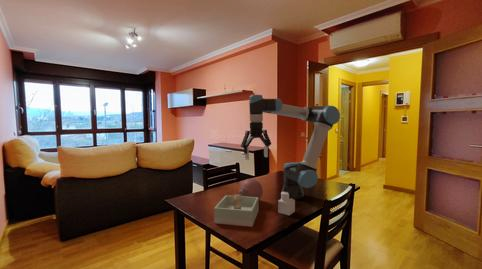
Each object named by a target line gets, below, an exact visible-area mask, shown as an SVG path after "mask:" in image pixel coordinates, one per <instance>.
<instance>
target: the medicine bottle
mask: <svg viewBox="0 0 482 269" xmlns="http://www.w3.org/2000/svg"><path fill="white" fill-rule="evenodd" d="M295 210H296V199H292V193H291V192H290V191H282V190H281V192H280V199H278V200H277V213H278V214H281V215H286V216H291V215H292V214H293V213H295V212H296V211H295Z"/></svg>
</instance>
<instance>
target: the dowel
mask: <svg viewBox="0 0 482 269" xmlns="http://www.w3.org/2000/svg"><path fill="white" fill-rule="evenodd" d="M233 196H234V209H241V195H240V194H238V193H236V194H233Z"/></svg>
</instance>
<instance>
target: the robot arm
mask: <svg viewBox="0 0 482 269" xmlns="http://www.w3.org/2000/svg"><path fill="white" fill-rule="evenodd" d="M248 102H249V103H248V104H249V130H245V132H244V133H245V134H244V136H243V139H242V142H241V144H240V147H241V148H243V153H244V159H245V160H247V161H249V159H250V154H249V153H250V150H249V146H250V144H251V143H252V141H253V140H254V139H260V141H261V142H262V143H263V144H264V146H263V156H264V158H268V157H269V152H270V150H269V148H270V146H271V145H272V142H271V139H270V137H269V135H268V130H267V129H263V128H264V125H263V124H264V122H263V120H264V116H263V114H264V113H265V114H272V115H278V116H283V117H288V118H289V117H290V118H295V119H296V118H297V119H301V120H302V121H304V122H309V123H312V124H313V125H314V128H313V130H312V134H311V137H310V140H309V141H308V145H307V147H306V150H305V151H304V155H303V158H302V161H299V162H297V161H296V162H285V163H284V164H283V186H282V188H281V192H282V191H290V192H291V193H292V199H294V200H299V199H303V198H304V197H305V195H304V194H305V193H304V190H303V188H306V189H310V188H312V187H314V186H315V185H316V184H317V182H318V180H319V176H318V173H317V171H318V168H317V163H318V161H319V157H320V155H321V153H322V149H323V148H324V145H325V144H324V143H325V142H326V139H327V135H328V133H329V131H331V130H332V129H333V127H334V125H335V124H338V123H339V121H340V119H341V114H340V111H339V109H338V107H336V106H334V105H329V104H327V105H324V106H321V105H320V106H304V107H300V106H296V105H295V106H294V105H290V104H285V103H283V101H282V100H281V99H280V98H263V94H251V95H250V96H249V101H248Z"/></svg>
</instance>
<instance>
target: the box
mask: <svg viewBox="0 0 482 269" xmlns="http://www.w3.org/2000/svg"><path fill="white" fill-rule="evenodd" d="M259 203H260V202H259V201H258V197H245V196H241V209H234V195H227V194H226V195H224V196H223V197H222V198H221V200H220V201H219V202H218V203H217V204H216V205H215V207H213V216H214V217H213V218H214V224H219V225H228V226H229V225H231V226H240V227H251V228H252V227H253V226H254V224H255V220H256V219H257V215H258V213H259V211H260V210H259V209H260V208H259Z"/></svg>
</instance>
